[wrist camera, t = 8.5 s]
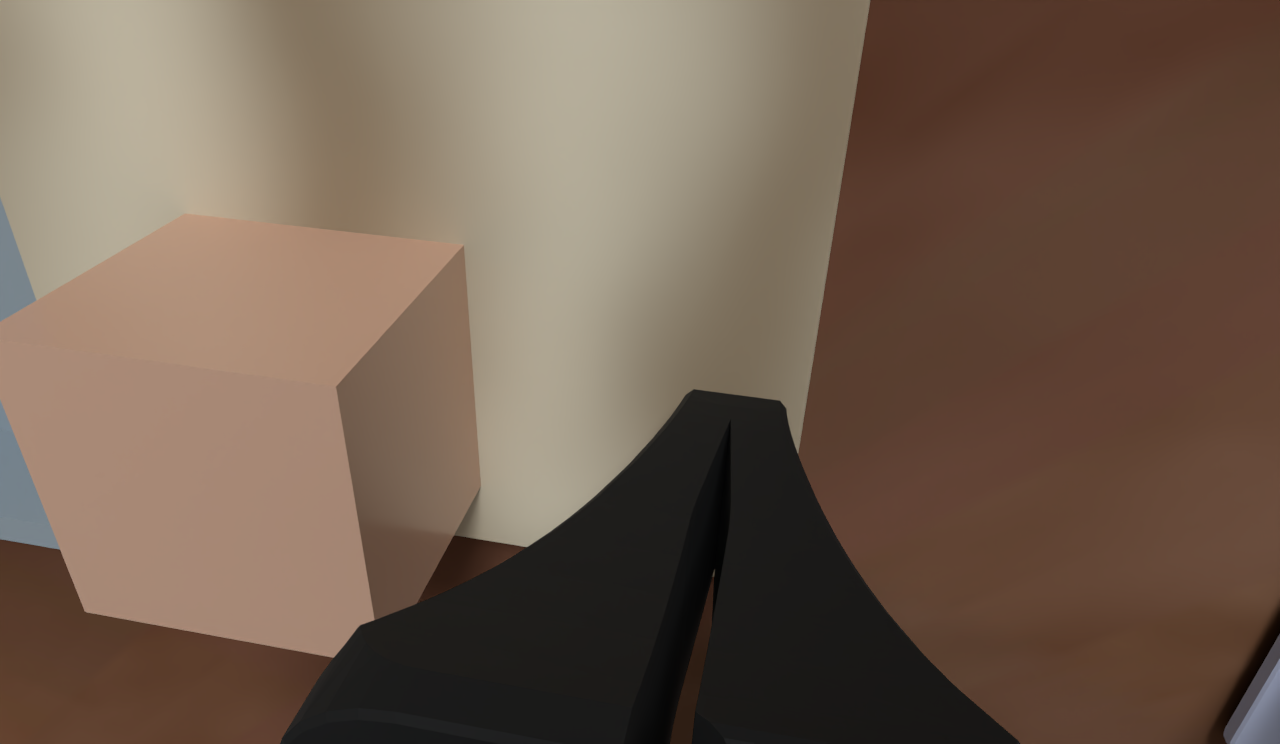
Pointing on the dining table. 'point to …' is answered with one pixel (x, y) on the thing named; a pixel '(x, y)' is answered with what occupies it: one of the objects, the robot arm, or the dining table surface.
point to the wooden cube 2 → (250, 426)
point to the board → (476, 184)
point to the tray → (3, 484)
